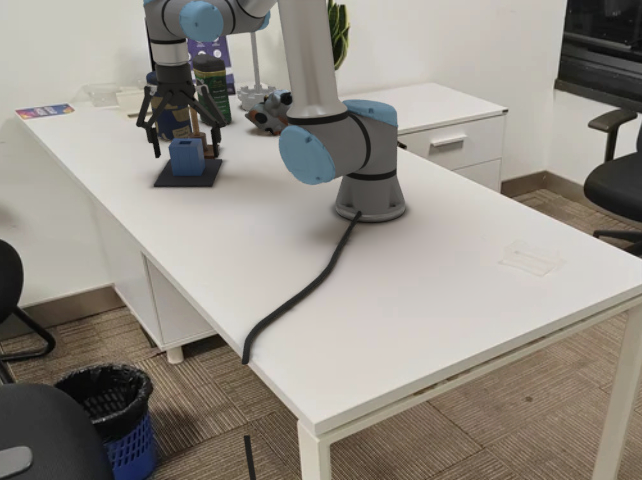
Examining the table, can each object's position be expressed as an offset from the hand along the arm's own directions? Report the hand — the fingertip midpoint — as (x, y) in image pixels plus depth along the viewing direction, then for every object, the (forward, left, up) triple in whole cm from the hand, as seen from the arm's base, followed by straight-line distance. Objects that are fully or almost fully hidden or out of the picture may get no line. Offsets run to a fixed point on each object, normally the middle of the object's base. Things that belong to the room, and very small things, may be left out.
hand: (187, 156), depth 164 cm
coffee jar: (+44, 0, -4) cm, 44 cm away
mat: (0, 0, -4) cm, 4 cm away
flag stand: (+61, -11, -4) cm, 62 cm away
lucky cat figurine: (+37, -18, -4) cm, 41 cm away
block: (0, 0, -4) cm, 4 cm away
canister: (+29, +9, -4) cm, 31 cm away
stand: (+15, 0, -4) cm, 15 cm away
